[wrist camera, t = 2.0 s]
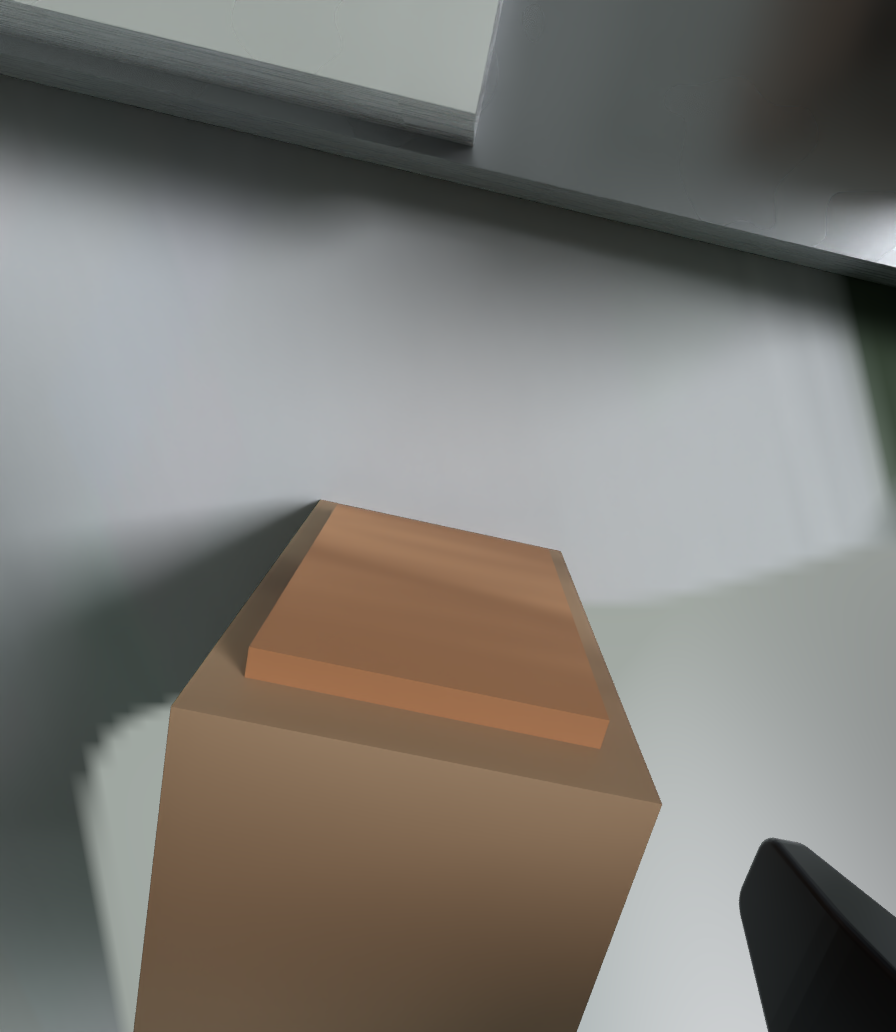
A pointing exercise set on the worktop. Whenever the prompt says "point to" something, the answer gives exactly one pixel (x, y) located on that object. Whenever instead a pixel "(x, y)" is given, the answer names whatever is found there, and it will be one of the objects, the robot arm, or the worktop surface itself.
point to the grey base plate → (536, 100)
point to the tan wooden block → (394, 796)
